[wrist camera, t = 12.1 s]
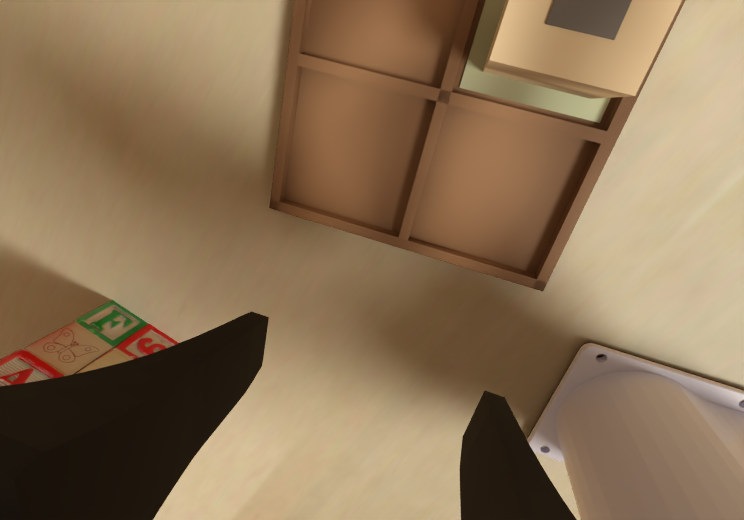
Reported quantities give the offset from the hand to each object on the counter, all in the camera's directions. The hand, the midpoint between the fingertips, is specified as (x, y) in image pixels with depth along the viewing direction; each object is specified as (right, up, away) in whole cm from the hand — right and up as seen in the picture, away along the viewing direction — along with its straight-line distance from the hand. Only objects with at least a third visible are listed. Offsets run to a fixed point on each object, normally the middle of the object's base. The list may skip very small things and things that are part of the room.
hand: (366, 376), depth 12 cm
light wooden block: (+8, +13, +3) cm, 15 cm away
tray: (+3, +11, +5) cm, 13 cm away
